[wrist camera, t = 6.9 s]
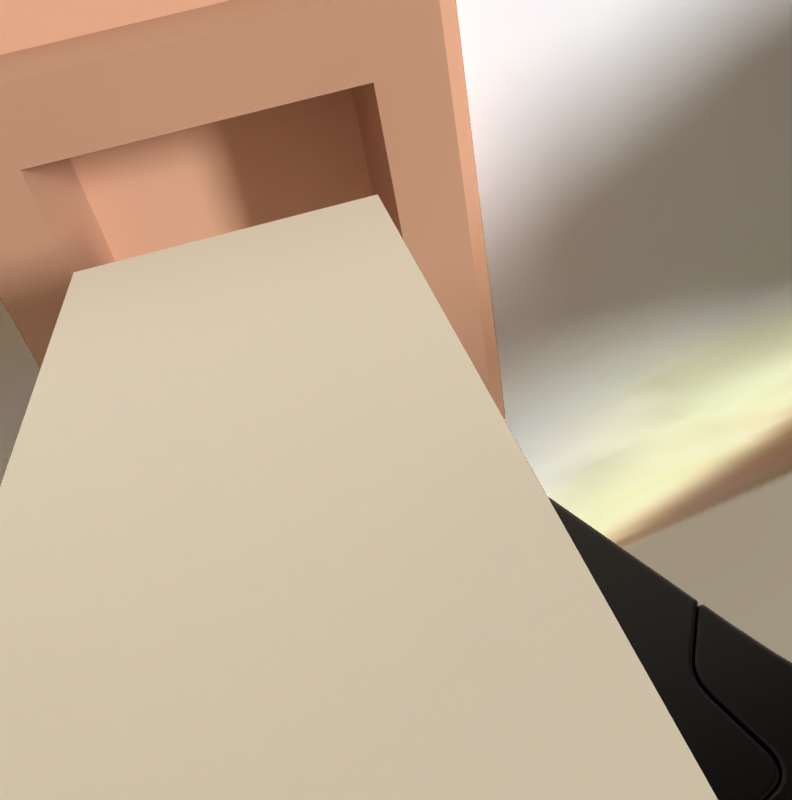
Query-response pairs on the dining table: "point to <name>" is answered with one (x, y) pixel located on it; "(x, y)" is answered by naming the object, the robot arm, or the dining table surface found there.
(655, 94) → the dining table surface
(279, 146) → the dock
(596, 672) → the plug
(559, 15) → the dining table surface
